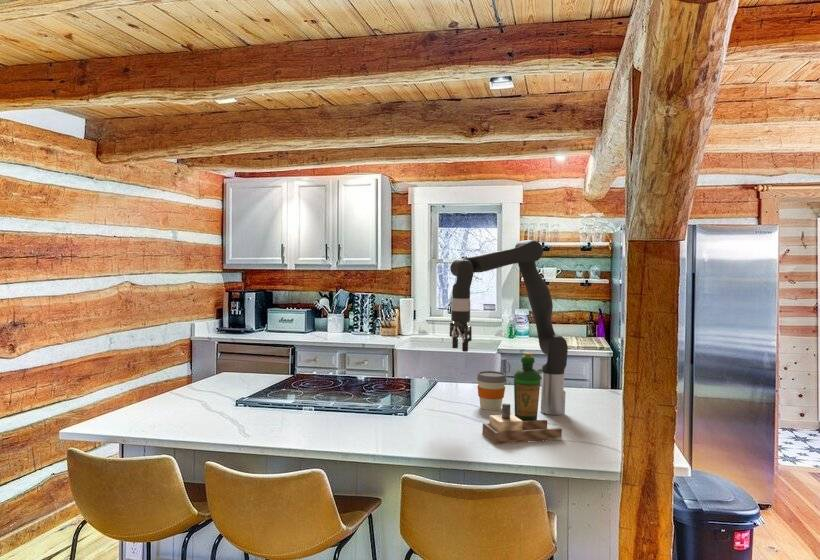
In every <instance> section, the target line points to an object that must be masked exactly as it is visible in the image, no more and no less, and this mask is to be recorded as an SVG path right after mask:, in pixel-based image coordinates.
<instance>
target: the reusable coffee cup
mask: <svg viewBox="0 0 820 560" xmlns="http://www.w3.org/2000/svg"><path fill="white" fill-rule="evenodd" d="M506 375H507V374H506V373H505V372H501V371H496V370H495V371H493V370H483V371H482V370H481V371H478V372H477V378H476V379H477V385H476V386H477V387H476V388H477V396H478V397H479V406H480V409H483V410H485V411H494V412H495V411H500V410H502V404H503V398H505V392H506V385H505V384H506V382H507V378H506V377H507V376H506Z"/></svg>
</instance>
